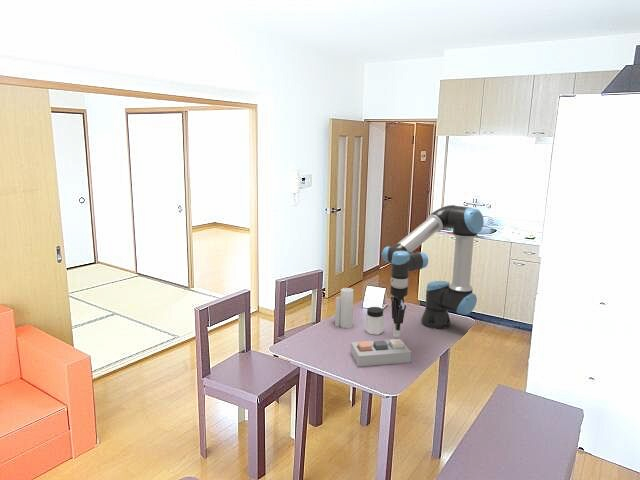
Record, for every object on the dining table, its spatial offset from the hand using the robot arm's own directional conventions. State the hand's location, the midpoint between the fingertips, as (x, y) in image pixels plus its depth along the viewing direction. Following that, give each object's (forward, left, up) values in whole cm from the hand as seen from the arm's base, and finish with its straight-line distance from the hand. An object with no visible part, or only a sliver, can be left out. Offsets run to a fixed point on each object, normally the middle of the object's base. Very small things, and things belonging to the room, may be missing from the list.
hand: (396, 335), depth 214 cm
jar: (+1, -28, -10) cm, 30 cm away
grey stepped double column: (+15, -40, -10) cm, 44 cm away
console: (+7, 0, -10) cm, 12 cm away
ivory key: (0, 0, -5) cm, 5 cm away
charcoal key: (+7, 0, -5) cm, 9 cm away
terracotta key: (+15, 0, -5) cm, 16 cm away
